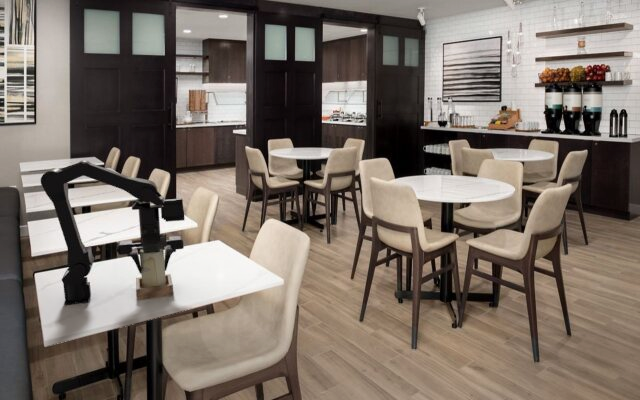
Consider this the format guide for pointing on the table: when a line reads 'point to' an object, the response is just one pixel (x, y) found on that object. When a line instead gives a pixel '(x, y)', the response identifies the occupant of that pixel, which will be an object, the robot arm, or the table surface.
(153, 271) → the skincare box
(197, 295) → the table surface
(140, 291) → the box
